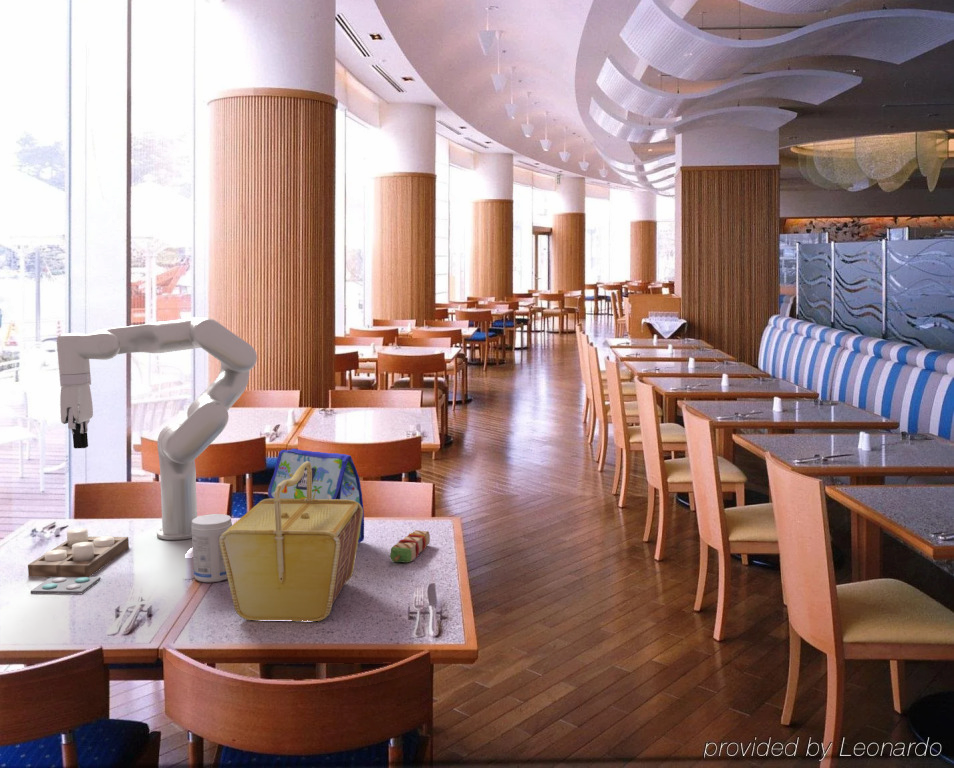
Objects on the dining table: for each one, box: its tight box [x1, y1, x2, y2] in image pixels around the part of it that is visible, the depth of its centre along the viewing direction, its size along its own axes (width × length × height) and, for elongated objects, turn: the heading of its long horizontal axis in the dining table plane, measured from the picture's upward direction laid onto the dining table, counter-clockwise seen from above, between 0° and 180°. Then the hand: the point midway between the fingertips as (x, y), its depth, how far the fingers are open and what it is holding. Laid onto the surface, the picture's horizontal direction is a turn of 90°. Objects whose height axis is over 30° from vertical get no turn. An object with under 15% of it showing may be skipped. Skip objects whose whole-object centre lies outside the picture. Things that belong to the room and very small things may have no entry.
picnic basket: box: [219, 461, 364, 622], centre depth 205 cm, size 29×26×30 cm
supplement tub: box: [191, 513, 233, 583], centre depth 223 cm, size 10×10×15 cm
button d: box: [44, 549, 67, 561], centre depth 229 cm, size 5×5×4 cm
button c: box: [72, 542, 94, 561], centre depth 229 cm, size 5×5×4 cm
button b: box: [66, 527, 89, 547], centre depth 241 cm, size 5×5×4 cm
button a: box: [94, 535, 115, 547], centre depth 241 cm, size 5×5×4 cm
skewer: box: [389, 529, 431, 563], centre depth 240 cm, size 21×6×5 cm, turn 164°
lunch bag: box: [267, 448, 365, 544], centre depth 248 cm, size 22×17×26 cm
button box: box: [27, 536, 130, 578], centre depth 235 cm, size 15×24×3 cm, turn 179°
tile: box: [30, 576, 102, 594], centre depth 217 cm, size 12×10×1 cm
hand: (81, 447), depth 245 cm, fingers closed
